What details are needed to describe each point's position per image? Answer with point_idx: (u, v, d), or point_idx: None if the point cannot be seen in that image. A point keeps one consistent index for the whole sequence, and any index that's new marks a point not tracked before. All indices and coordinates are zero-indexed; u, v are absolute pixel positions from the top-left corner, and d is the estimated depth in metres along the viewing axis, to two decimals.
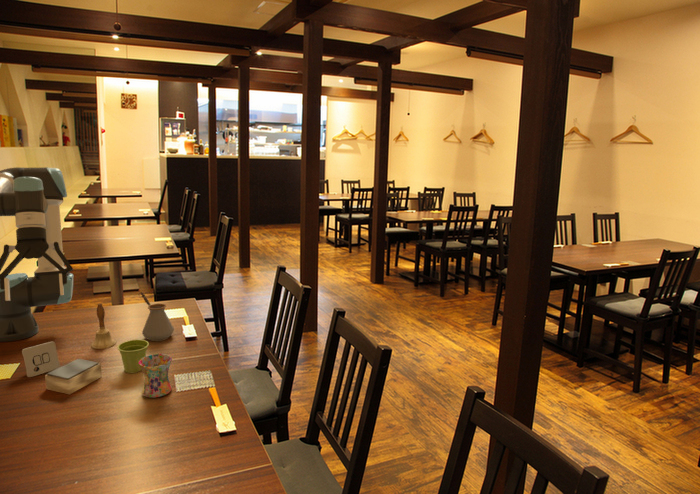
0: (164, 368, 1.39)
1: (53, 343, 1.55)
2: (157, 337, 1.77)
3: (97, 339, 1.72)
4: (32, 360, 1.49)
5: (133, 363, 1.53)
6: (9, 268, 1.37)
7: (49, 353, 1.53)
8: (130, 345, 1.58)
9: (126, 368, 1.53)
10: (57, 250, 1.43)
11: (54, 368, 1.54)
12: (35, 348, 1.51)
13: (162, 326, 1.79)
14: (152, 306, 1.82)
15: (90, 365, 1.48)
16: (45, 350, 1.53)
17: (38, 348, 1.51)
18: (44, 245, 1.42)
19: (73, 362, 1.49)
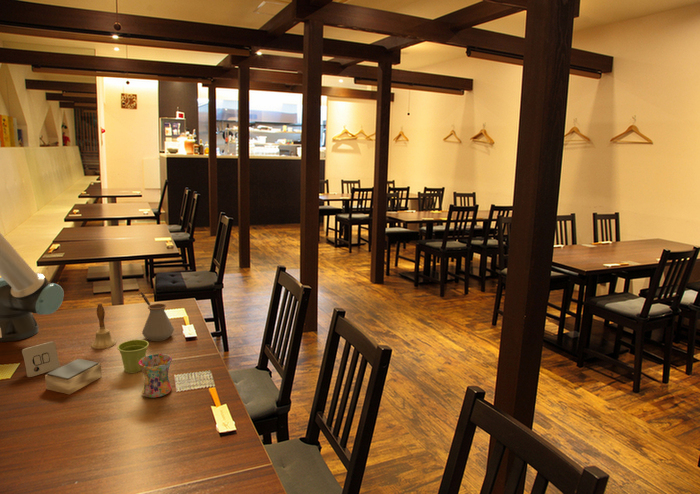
0: (164, 368, 1.39)
1: (53, 343, 1.55)
2: (157, 337, 1.77)
3: (97, 339, 1.72)
4: (32, 360, 1.49)
5: (133, 363, 1.53)
6: None
7: (49, 353, 1.53)
8: (130, 345, 1.58)
9: (126, 368, 1.53)
10: None
11: (54, 368, 1.54)
12: (35, 348, 1.51)
13: (162, 326, 1.79)
14: (152, 306, 1.82)
15: (90, 365, 1.48)
16: (45, 350, 1.53)
17: (38, 348, 1.51)
18: None
19: (73, 362, 1.49)
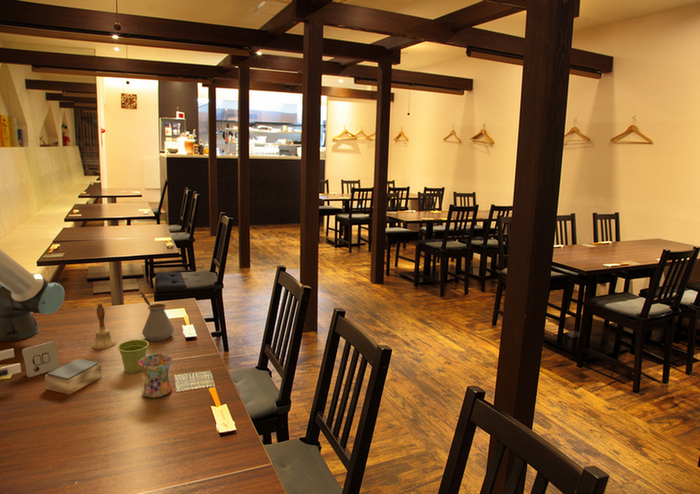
0: (164, 368, 1.39)
1: (53, 343, 1.55)
2: (157, 337, 1.77)
3: (97, 339, 1.72)
4: (32, 360, 1.49)
5: (133, 363, 1.53)
6: None
7: (49, 353, 1.53)
8: (130, 345, 1.58)
9: (126, 368, 1.53)
10: None
11: (54, 368, 1.54)
12: (35, 348, 1.51)
13: (162, 326, 1.79)
14: (152, 306, 1.82)
15: (90, 365, 1.48)
16: (45, 350, 1.53)
17: (38, 348, 1.51)
18: None
19: (73, 362, 1.49)
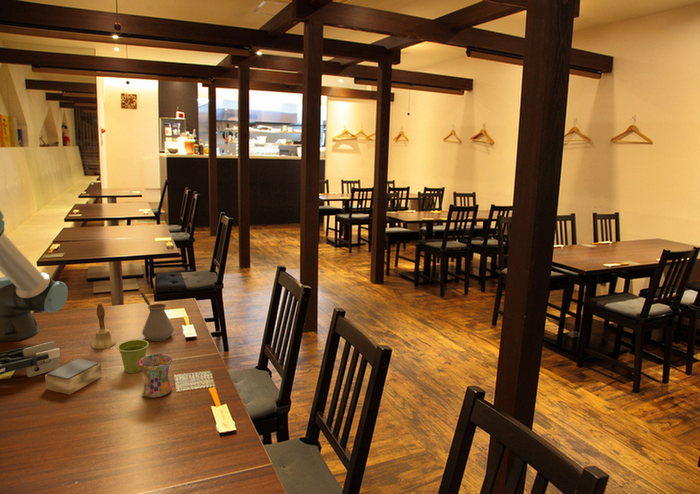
0: (164, 368, 1.39)
1: (54, 343, 1.54)
2: (157, 337, 1.77)
3: (97, 339, 1.72)
4: None
5: (133, 363, 1.53)
6: None
7: None
8: (130, 345, 1.58)
9: (126, 368, 1.53)
10: None
11: (54, 368, 1.54)
12: (36, 348, 1.50)
13: (162, 326, 1.79)
14: (152, 306, 1.82)
15: (90, 365, 1.48)
16: (46, 350, 1.52)
17: (39, 348, 1.51)
18: None
19: (73, 362, 1.49)
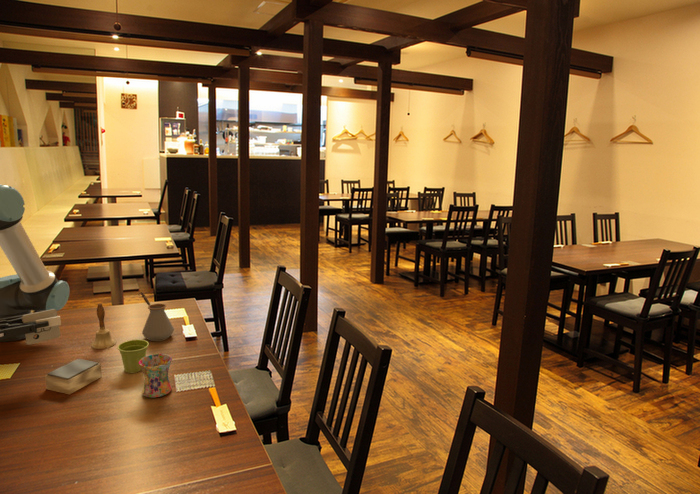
0: (164, 368, 1.39)
1: (55, 311, 1.49)
2: (157, 337, 1.77)
3: (97, 339, 1.72)
4: None
5: (133, 363, 1.53)
6: None
7: None
8: (130, 345, 1.58)
9: (126, 368, 1.53)
10: None
11: (54, 337, 1.48)
12: (36, 315, 1.45)
13: (162, 326, 1.79)
14: (152, 306, 1.82)
15: (90, 365, 1.48)
16: None
17: (38, 315, 1.45)
18: None
19: (73, 362, 1.49)
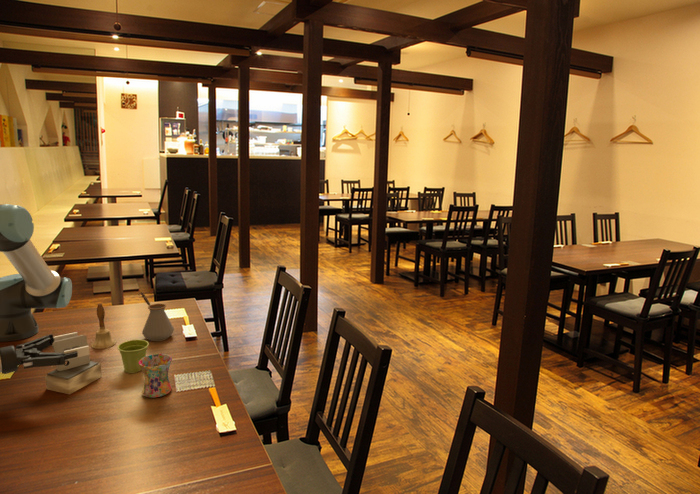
0: (164, 368, 1.39)
1: (84, 336, 1.48)
2: (157, 337, 1.77)
3: (97, 339, 1.72)
4: None
5: (133, 363, 1.53)
6: None
7: None
8: (130, 345, 1.58)
9: (126, 368, 1.53)
10: None
11: (84, 363, 1.47)
12: (66, 341, 1.45)
13: (162, 326, 1.79)
14: (152, 306, 1.82)
15: (90, 365, 1.48)
16: (76, 343, 1.46)
17: (68, 341, 1.45)
18: None
19: None
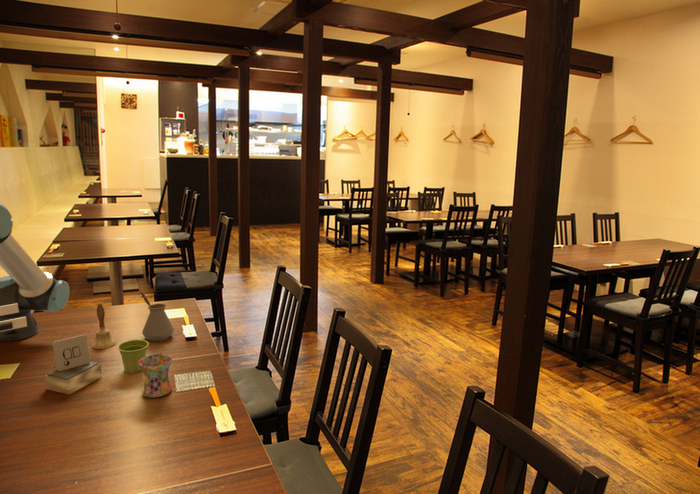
0: (164, 368, 1.39)
1: (84, 336, 1.48)
2: (157, 337, 1.77)
3: (97, 339, 1.72)
4: (62, 353, 1.43)
5: (133, 363, 1.53)
6: None
7: (80, 347, 1.47)
8: (130, 345, 1.58)
9: (126, 368, 1.53)
10: None
11: (84, 363, 1.47)
12: (66, 341, 1.45)
13: (162, 326, 1.79)
14: (152, 306, 1.82)
15: (90, 365, 1.48)
16: (76, 343, 1.46)
17: (68, 341, 1.45)
18: None
19: None
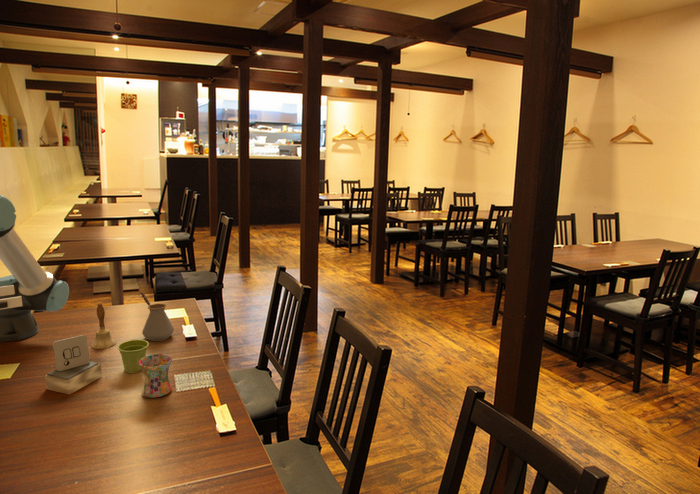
0: (164, 368, 1.39)
1: (84, 336, 1.48)
2: (157, 337, 1.77)
3: (97, 339, 1.72)
4: (62, 353, 1.43)
5: (133, 363, 1.53)
6: None
7: (80, 347, 1.47)
8: (130, 345, 1.58)
9: (126, 368, 1.53)
10: None
11: (84, 363, 1.47)
12: (66, 341, 1.45)
13: (162, 326, 1.79)
14: (152, 306, 1.82)
15: (90, 365, 1.48)
16: (76, 343, 1.46)
17: (68, 341, 1.45)
18: None
19: None
